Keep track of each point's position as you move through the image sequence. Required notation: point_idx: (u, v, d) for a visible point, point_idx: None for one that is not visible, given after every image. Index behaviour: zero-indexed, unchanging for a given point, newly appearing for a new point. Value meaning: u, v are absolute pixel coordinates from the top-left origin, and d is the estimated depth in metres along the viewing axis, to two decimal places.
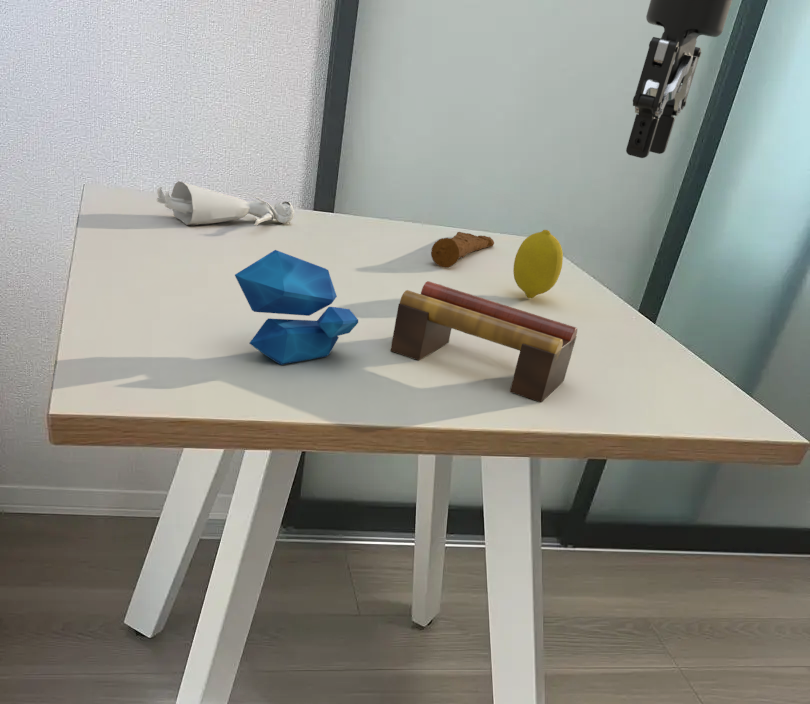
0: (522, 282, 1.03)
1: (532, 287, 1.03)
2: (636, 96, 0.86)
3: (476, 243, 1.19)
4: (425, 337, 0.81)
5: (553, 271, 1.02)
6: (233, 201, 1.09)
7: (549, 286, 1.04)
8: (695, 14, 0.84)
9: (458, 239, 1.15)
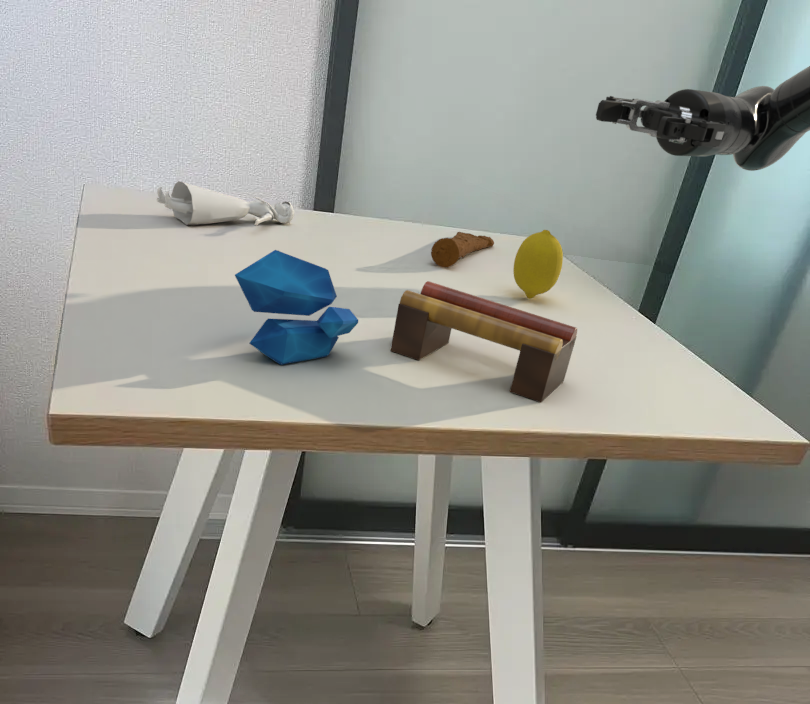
0: (522, 282, 1.03)
1: (532, 287, 1.03)
2: None
3: (476, 243, 1.19)
4: (425, 337, 0.81)
5: (553, 271, 1.02)
6: (233, 201, 1.09)
7: (549, 286, 1.04)
8: None
9: (458, 239, 1.15)
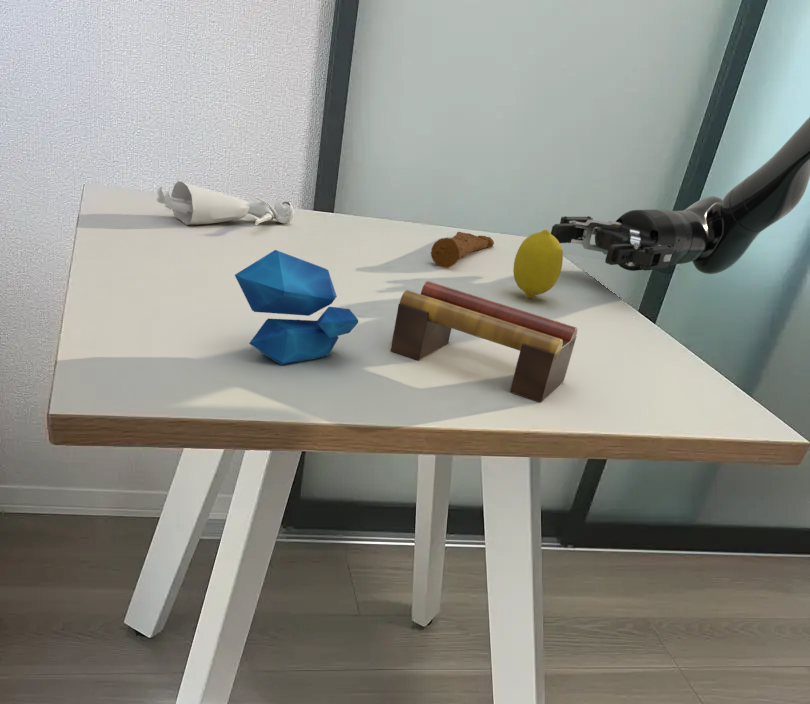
0: (522, 282, 1.03)
1: (532, 287, 1.03)
2: None
3: (476, 243, 1.19)
4: (425, 337, 0.81)
5: (553, 271, 1.02)
6: (233, 201, 1.09)
7: (549, 286, 1.04)
8: None
9: (458, 239, 1.15)
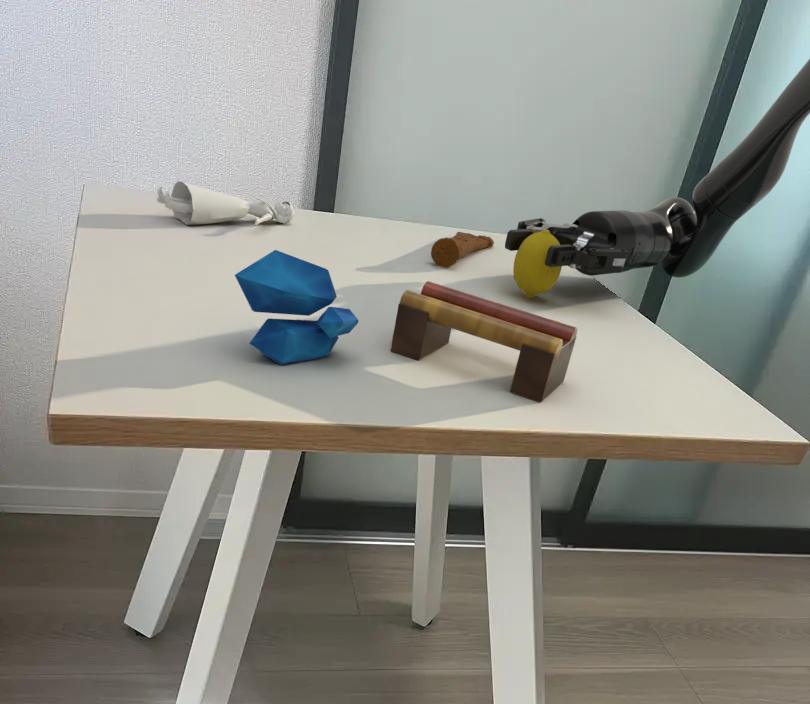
0: (522, 282, 1.03)
1: (532, 287, 1.03)
2: None
3: (476, 243, 1.19)
4: (425, 337, 0.81)
5: (553, 271, 1.02)
6: (233, 201, 1.09)
7: (549, 286, 1.04)
8: None
9: (458, 239, 1.15)
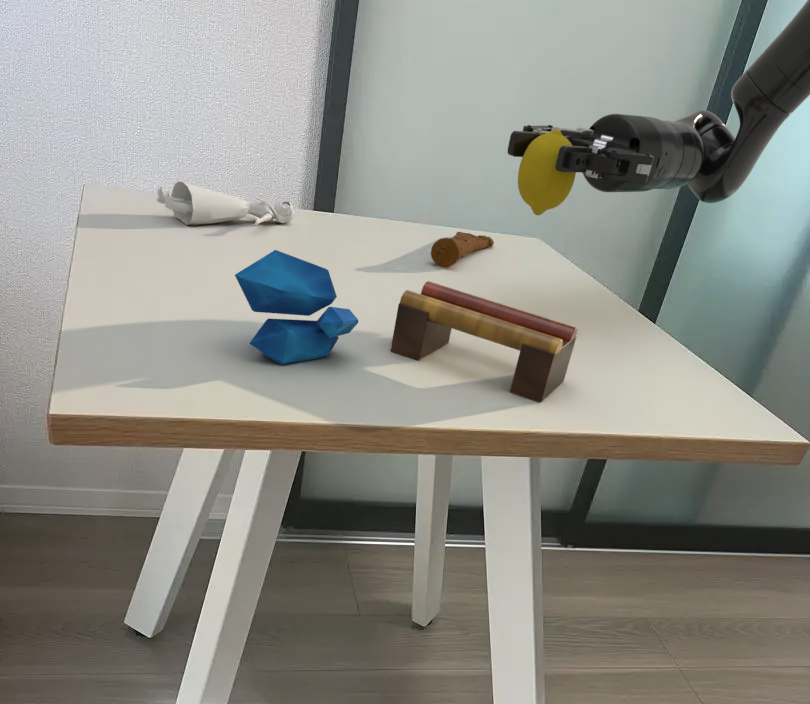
0: (529, 194, 0.87)
1: (541, 199, 0.87)
2: None
3: (476, 243, 1.19)
4: (425, 337, 0.81)
5: (566, 179, 0.86)
6: (233, 201, 1.09)
7: (561, 198, 0.87)
8: None
9: (458, 239, 1.15)
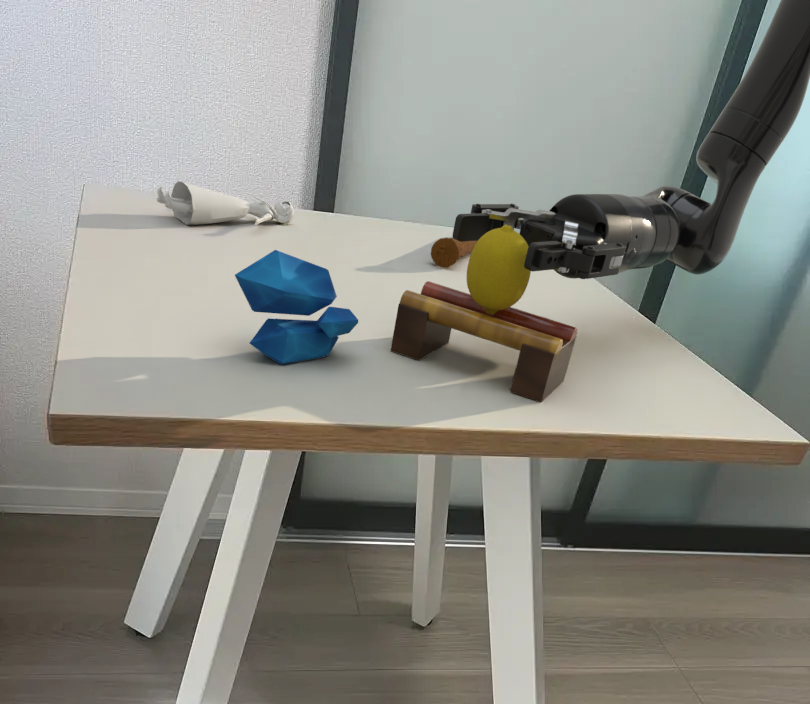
0: (478, 297, 0.78)
1: (491, 302, 0.78)
2: None
3: None
4: (425, 337, 0.81)
5: (518, 282, 0.77)
6: (233, 201, 1.09)
7: (514, 300, 0.78)
8: None
9: None
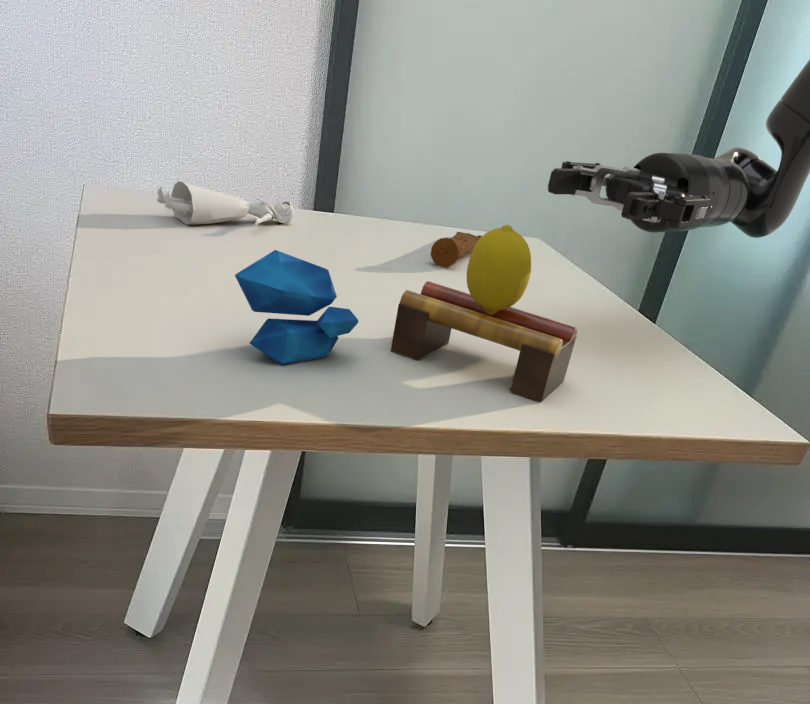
0: (478, 297, 0.78)
1: (491, 302, 0.78)
2: None
3: None
4: (425, 337, 0.81)
5: (518, 282, 0.77)
6: (233, 201, 1.09)
7: (514, 300, 0.78)
8: None
9: (458, 239, 1.15)
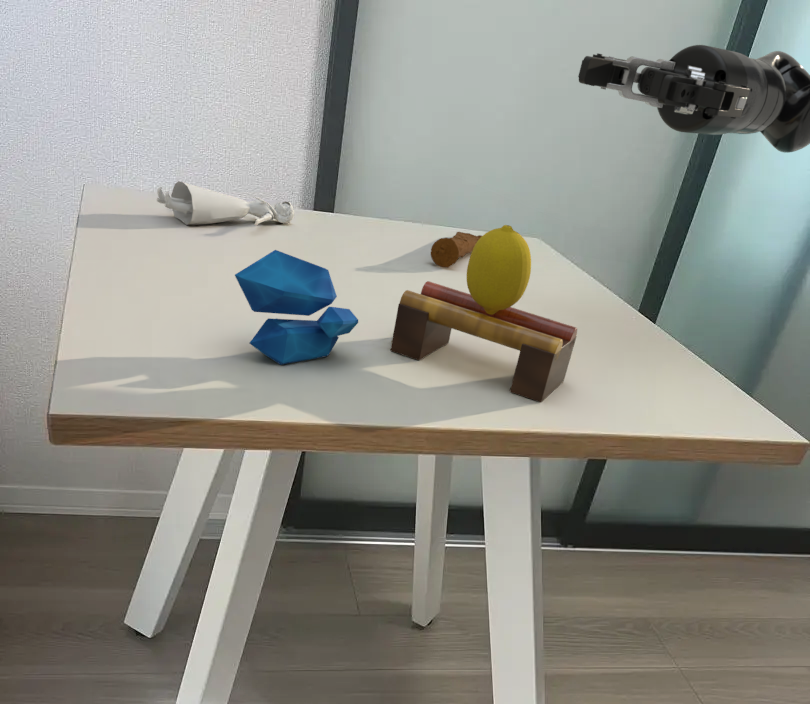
0: (478, 297, 0.78)
1: (491, 302, 0.78)
2: None
3: (475, 243, 1.19)
4: (425, 337, 0.81)
5: (518, 282, 0.77)
6: (233, 201, 1.09)
7: (514, 300, 0.78)
8: None
9: (457, 239, 1.15)
